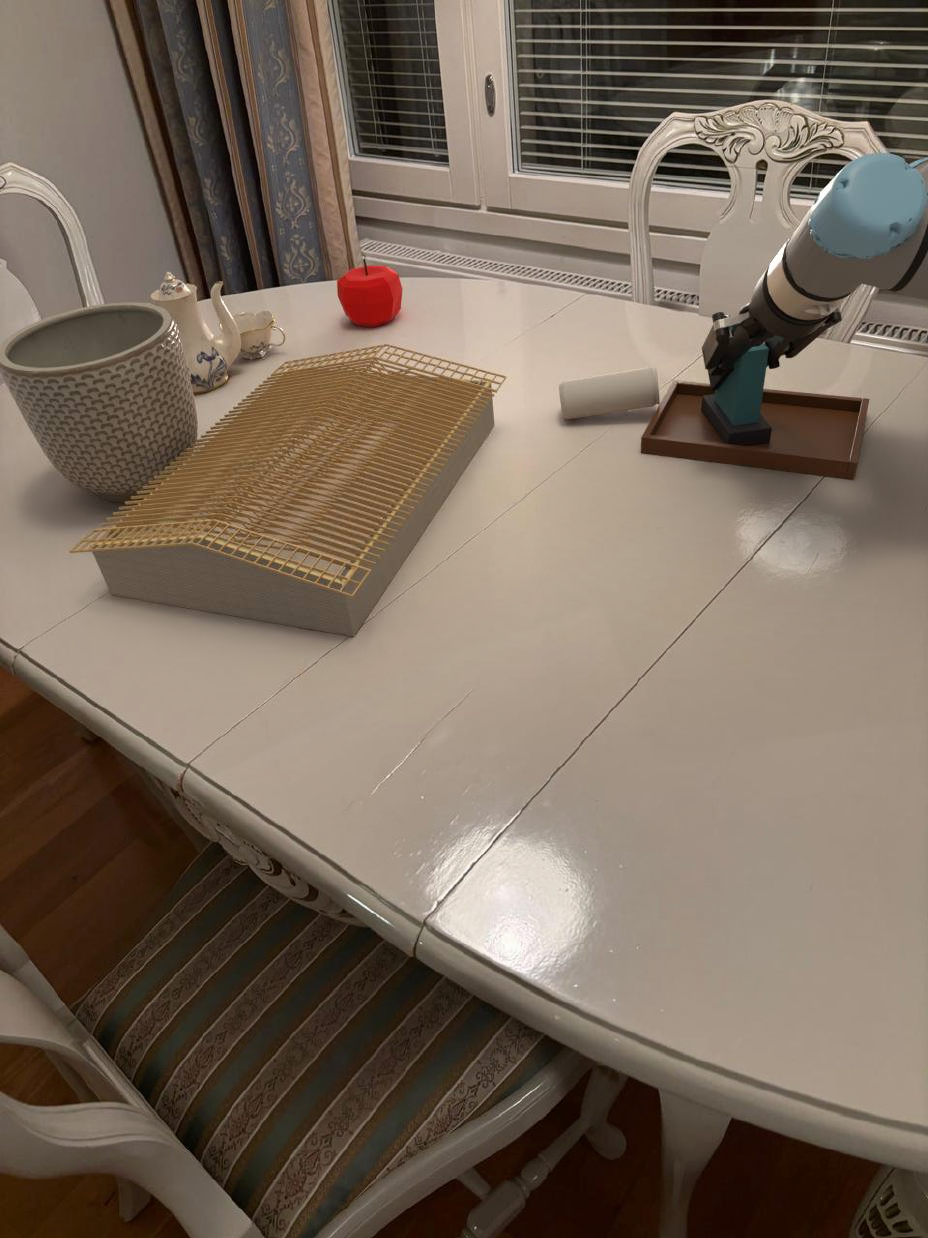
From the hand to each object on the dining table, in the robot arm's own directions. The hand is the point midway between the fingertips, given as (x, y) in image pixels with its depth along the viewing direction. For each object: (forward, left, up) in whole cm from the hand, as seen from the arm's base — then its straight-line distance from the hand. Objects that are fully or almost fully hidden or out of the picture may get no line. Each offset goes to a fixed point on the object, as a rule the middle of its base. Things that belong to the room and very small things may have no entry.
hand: (727, 376), depth 106 cm
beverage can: (+20, +5, -3) cm, 20 cm away
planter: (+65, +33, -5) cm, 73 cm away
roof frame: (+40, +31, -5) cm, 51 cm away
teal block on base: (-2, +3, -5) cm, 6 cm away
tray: (-4, +3, -5) cm, 8 cm away
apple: (+61, -21, -5) cm, 64 cm away
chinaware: (+78, +4, -5) cm, 78 cm away
